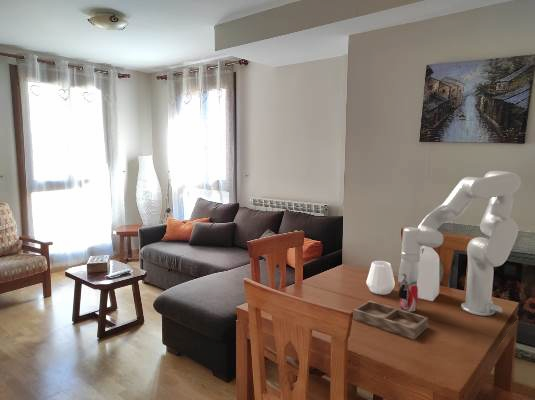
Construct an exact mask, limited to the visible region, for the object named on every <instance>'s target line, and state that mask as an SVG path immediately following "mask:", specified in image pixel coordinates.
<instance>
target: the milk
mask: <svg viewBox="0 0 535 400" xmlns="http://www.w3.org/2000/svg"><path fill="white" fill-rule="evenodd" d="M417 287H418V299H421V300H426V301H430V302H433V301H434V300H435V299H436V298H437V296H439V294H440V256H439V254H438V253H437V252H436V251H435V249H434V248H433V247H426V246H421V252H420V262H418V278H417Z"/></svg>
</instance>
